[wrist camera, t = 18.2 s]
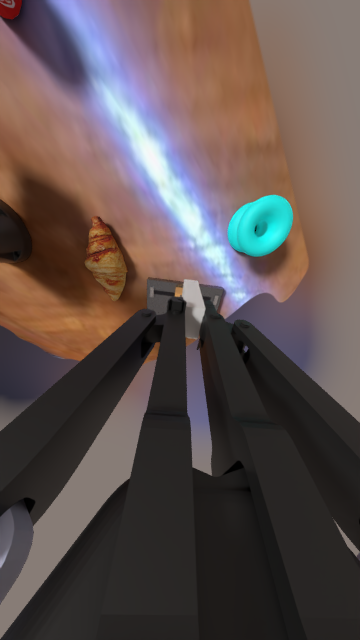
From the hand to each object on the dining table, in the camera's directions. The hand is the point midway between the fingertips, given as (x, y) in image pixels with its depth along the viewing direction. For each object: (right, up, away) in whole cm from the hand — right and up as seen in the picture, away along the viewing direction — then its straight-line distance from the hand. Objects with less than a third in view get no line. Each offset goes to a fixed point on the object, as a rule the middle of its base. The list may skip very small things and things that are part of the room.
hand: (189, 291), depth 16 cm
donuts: (+15, +19, +19) cm, 31 cm away
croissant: (-21, +13, +24) cm, 34 cm away
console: (0, +1, +30) cm, 30 cm away
